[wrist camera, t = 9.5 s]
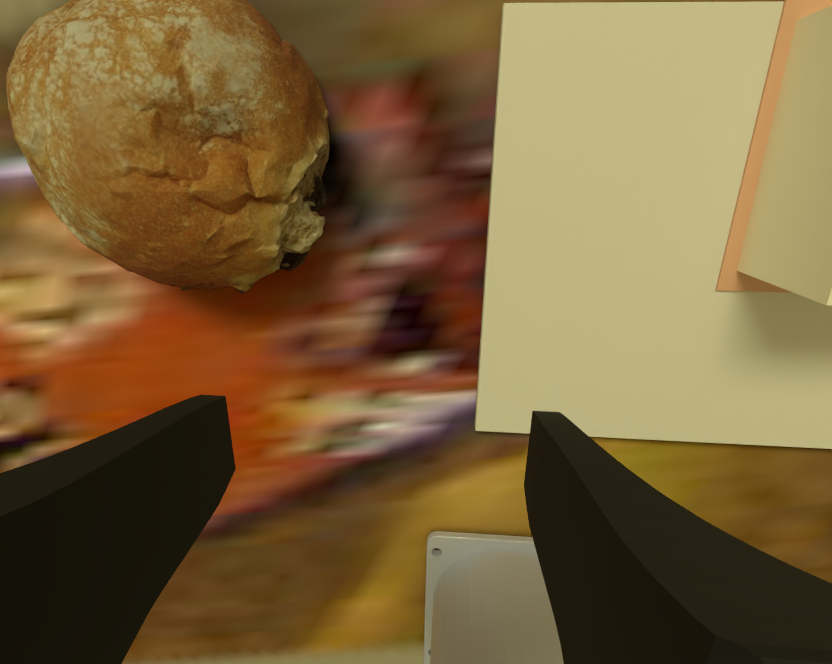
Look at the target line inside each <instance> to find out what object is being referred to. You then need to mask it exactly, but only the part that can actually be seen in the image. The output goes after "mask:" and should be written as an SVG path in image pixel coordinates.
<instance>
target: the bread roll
mask: <svg viewBox="0 0 832 664" xmlns="http://www.w3.org/2000/svg"><path fill="white" fill-rule="evenodd" d="M6 91H7V98H8V107H9V112H10V117H11V124H12V128H13V132H14V139H15V140H16V142H17V143H18V145H19V147H20V149H21V151H22V152H23V154H24V156H25V158H26V160H27V162H28V165H29V167H30V169H31V171H32V173H33V175H34V177H35V179H36V182H37V184H38V186H39V188H40V190H41V192H42V194H43V195H44V197H45V198H46V200H47V201H48V203H49V204H50V206H51V207H52V209H53V210H54V212H55V213H56V215H57V216H58V218H59V219H60V220H61V221H62V222H63V223H64V224H65V225H66V226H67V228H68V229H69V230H70V231H71V232H72V233H73V234H74V235H75V236H76V237H77V238H78V239H79V240H80V241H81V242H82V243H83V244H84V245H86V246H87V247H89V248H90V249H92V250H94V251H95V252H97V253H99V254H101V255H103V256H104V257H106V258H107V259H109V260H111V261H113V262H114V263H116V264H118V265H119V266H121V267H123V268H124V269H126V270H127V271H130V272H134V273H137V274H139V275H141V276H143V277H146V278H148V279H151V280H153V281H156V282H158V283H161V284H166V285H171V286H179V287H180V288H181V290H186V289H193V288H212V289H217V288H223V287H229V286H232V287H234V288H235V289H236V290H238V291H239V292H241V293H245V292H246V291H248V290H249V289H250V288H251V287H252V285H253V284H254V283H255V282H256V281H258V280H259V279H261V278H262V277H264V276H266V275H269V274H271V273H274V272H275V271H276V270H277V269H279V270H281V269H282V270H288V271H290V270H292V269H294V268H296V267H298V266H300V265H301V264H303V262H304V260H305V257H306V256H307V255H308V251H309V249H310V247H311V245H312V243H314V242H315V241H316V240H317V239H318V238H319V237H320V236H321V235H322V233H323V226H324V223H325V218H324V216H321V217H320V216H319V215H318V214H317V213H316V211H318V210H319V209H320V208H321V207H322V206H323V205H325V204H326V195H325V187H324V184H323V182H322V179H321V177H322V175H323V172H324V169H325V166H326V163H327V161H328V158H329V131H328V123H327V118H328V116H329V111H328V110H327V109H326V106H325V102H324V99H323V96H322V93H321V90H320V88H319V85H318V83H317V80H316V78H315V76H314V74H313V72H312V70H311V69H310V67H309V65H308V63H307V62H306V61H305V59H304V58H303V57H302V55H301V54H300V53H299V52H298V50H297V49H296V48H295V46H293V45H292V44H291V43H290V42H287V41H284V40H283V39H281V38H280V36H279V34H278V32H277V30H276V29H275V28H274V27H273V25H272V24H271V23H270V22H269V21H268V20H267V19H266V18H265V17H264V16H263V15H262V14H261V13H260V12H259V11H258V10H257V9H255V8H254V7H253V6H252V5H251V4H250V3H249V2H247V1H246V0H71V1H69V2H67V3H66V4H65V5H63V6H60V7H58V8H56V9H54V10H53V11H51V12H49V13H47V14H45V15H43V16H42V17H40V18H38V19H37V20H36V21H35V22H34V23H33V24H32V25H31V26H30V28H29V29H28V30H27V31H26V32H25V33H24V35H23V36H22V38H21V40H20V42H19V44H18V46H17V48H16V51H15V53H14V56H13V59H12V62H11V65H10V67H9V70H8V73H7V83H6ZM273 202H274V204H273Z"/></svg>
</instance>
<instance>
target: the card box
mask: <svg viewBox="0 0 832 664" xmlns="http://www.w3.org/2000/svg"><path fill="white" fill-rule="evenodd" d="M737 271H739V272H742V273H744V274H747V275H749V276H752V277H755V278H757V279H760V280H762V281H765V282H767V283H770V284H773V285H775V286H778V287H780V288H783V289H785V290H788V291H791V292H793V293H796V294H798V295H801V296H803V297H806V298H809V299H811V300H814V301H816V302H819V303H821V304H824V305H830V306H832V6H830V7H827V8H825V9H822V10H820V11H818V12H815V13H813V14H810V15H808V16H805V17H803V18H800V19H798V20H796V24H795V28H794V32H793V36H792V40H791V45H790V49H789V53H788V57H787V61H786V66H785V70H784V74H783V78H782V82H781V86H780V91H779V95H778V99H777V103H776V107H775V112H774V116H773V120H772V124H771V128H770V133H769V137H768V141H767V145H766V149H765V154H764V158H763V162H762V166H761V170H760V175H759V179H758V183H757V187H756V191H755V196H754V200H753V204H752V208H751V212H750V217H749V221H748V225H747V229H746V233H745V238H744V242H743V246H742V250H741V254H740V259H739V263H738V267H737Z"/></svg>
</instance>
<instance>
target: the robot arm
mask: <svg viewBox="0 0 832 664" xmlns="http://www.w3.org/2000/svg"><path fill="white" fill-rule="evenodd" d="M234 471H235V462H234V455H233V448H232V440H231V433H230V426H229V419H228V412H227V404H226V397H225V396H213V395H199V396H195V397H192V398H189V399H186V400H184V401H181V402H179V403H176V404H174V405H171V406H169V407H167V408H164V409H162V410H160V411H157V412H155V413H153V414H151V415H148V416H146V417H144V418H142V419H139V420H137V421H135V422H133V423H130V424H128V425H126V426H123V427H121V428H119V429H117V430H114V431H112V432H109V433H107V434H105V435H102V436H100V437H97V438H95V439H92V440H90V441H87V442H85V443H83V444H80V445H78V446H75V447H73V448H70V449H68V450H65V451H63V452H60V453H58V454H55V455H52V456H50V457H47V458H44V459H41V460H38V461H36V462H33V463H30V464H27V465H24V466H21V467H18V468H15V469H12V470H9V471H6V472H3V473H0V664H121V663H122V661H123V659H124V658H125V656H126V654H127V652H128V650H129V648H130V646H131V645H132V643H133V641H134V639H135V637H136V635H137V633H138V631H139V630H140V628H141V626H142V624H143V622H144V620H145V618H146V616H147V615H148V613H149V611H150V610H151V608H152V606H153V605H154V603H155V601H156V600H157V598H158V596H159V595H160V593H161V592H162V590H163V589H164V587H165V586H166V584H167V583H168V581H169V580H170V578H171V577H172V575H173V574H174V572H175V571H176V569H177V568H178V566H179V565H180V563H181V562H182V560H183V559H184V557H185V556H186V554H187V553H188V551H189V550H190V548H191V547H192V545H193V544H194V542H195V541H196V539H197V538H198V536H199V534H200V533H201V531H202V530H203V528H204V527H205V525H206V524H207V522H208V521H209V519H210V518H211V516H212V515H213V513H214V511H215V510H216V508H217V507H218V505H219V503H220V501H221V499H222V497H223V495H224V493H225V491H226V489H227V486H228V484H229V482H230V480H231V478H232V475H233V473H234ZM524 489H525V497H526V505H527V512H528V519H529V526H530V529H531V533H532V537H523V536H507V535H492V534H476V533H460V532H445V531H433V532H431V533H430V534H429V535H428V537H427V557H426V592H425V627H424V662H423V663H424V664H832V584H831V583H829V582H827V581H825V580H822V579H820V578H818V577H816V576H813V575H811V574H809V573H807V572H804V571H802V570H800V569H798V568H795V567H793V566H791V565H789V564H787V563H785V562H783V561H781V560H779V559H777V558H774V557H772V556H770V555H768V554H766V553H764V552H762V551H760V550H758V549H756V548H754V547H752V546H751V545H749V544H747V543H745V542H743V541H741V540H739V539H737V538H735V537H734V536H732V535H730V534H728V533H726V532H724V531H722V530H720V529H719V528H717V527H715V526H713V525H712V524H710V523H708V522H706V521H705V520H703V519H701V518H700V517H698V516H696V515H695V514H693V513H692V512H690V511H688V510H687V509H685V508H684V507H682V506H680V505H679V504H677V503H676V502H674V501H672V500H671V499H669V498H668V497H666V496H665V495H663V494H662V493H660V492H659V491H657V490H656V489H655V488H653V487H652V486H650V485H649V484H648V483H646V482H645V481H644V480H642V479H641V478H639V477H638V476H637V475H635V474H634V473H633V472H631V471H630V470H629V469H627V468H626V467H625V466H624V465H622V464H621V463H620V462H618V461H617V460H616V459H615V458H614V457H612V456H611V455H610V454H609V453H607V452H606V451H605V450H604V449H603V448H601V447H600V446H599V445H598V444H597V443H596V442H594V441H593V440H592V439H591V438H590V437H589V436H588V435H586V434H585V433H584V432H583V431H582V430H581V429H579V428H578V427H577V426H576V425H575V424H574V423H573V422H571V421H570V420H569V419H568V418H567V417H566V416H564V415H563V414H562V413H560V412H549V411H532V419H531V428H530V437H529V446H528V455H527V463H526V472H525V481H524ZM434 548H438V549H440V550H434Z"/></svg>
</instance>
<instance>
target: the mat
mask: <svg viewBox="0 0 832 664" xmlns="http://www.w3.org/2000/svg"><path fill="white" fill-rule="evenodd" d="M830 6H832V0H784V2H622V3H504V4H503V7H502V16H501V32H500V47H499V62H498V78H497V93H496V108H495V123H494V139H493V154H492V169H491V184H490V200H489V215H488V230H487V246H486V261H485V276H484V291H483V307H482V322H481V337H480V353H479V368H478V383H477V398H476V414H475V431H489V432H509V433H529V434H530V428H531V419H532V411H549V412H560V413H562V414H563V415H564V416H566V417H567V418H568V419H569V420H570V421H571V422H573V423H574V424H575V425H576V426H577V427H578V428H579V429H581V430H582V431H583V432H584V433H585V434H586V435H588V436H589V437H608V438H627V439H647V440H667V441H687V442H706V443H726V444H746V445H766V446H785V447H805V448H825V449H832V306H830V305H824V304H821V303H819V302H816V301H814V300H811V299H809V298H806V297H803V296H801V295H798V294H796V293H793V292H791V291H788V290H785V289H783V288H780V287H778V286H775V285H773V284H770V283H767V282H765V281H762V280H760V279H757V278H755V277H752V276H749V275H747V274H744V273H742V272H739V271H737V267H738V263H739V259H740V254H741V250H742V246H743V242H744V238H745V233H746V229H747V225H748V221H749V217H750V212H751V208H752V204H753V200H754V196H755V191H756V187H757V183H758V179H759V175H760V170H761V166H762V162H763V158H764V154H765V149H766V145H767V141H768V137H769V133H770V128H771V124H772V120H773V116H774V112H775V107H776V103H777V99H778V95H779V91H780V86H781V82H782V78H783V74H784V70H785V66H786V61H787V57H788V53H789V49H790V45H791V40H792V36H793V32H794V28H795V24H796V20H798V19H800V18H803V17H805V16H808V15H810V14H813V13H815V12H818V11H820V10H822V9H825V8H827V7H830Z"/></svg>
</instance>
